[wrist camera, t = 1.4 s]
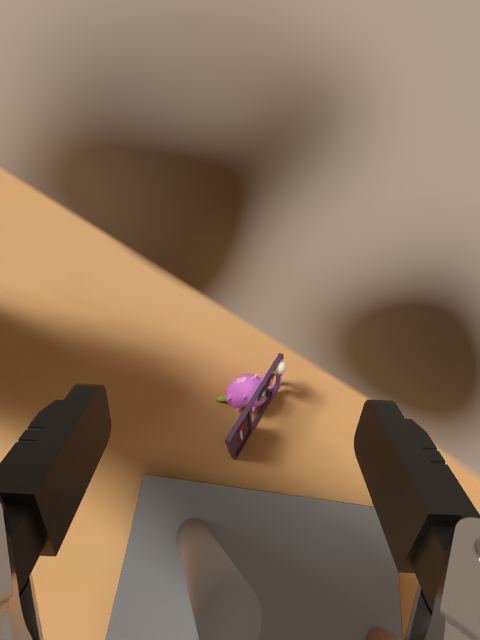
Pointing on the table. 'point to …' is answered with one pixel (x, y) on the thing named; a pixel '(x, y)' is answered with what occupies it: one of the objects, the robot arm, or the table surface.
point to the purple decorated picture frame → (250, 402)
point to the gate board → (253, 568)
